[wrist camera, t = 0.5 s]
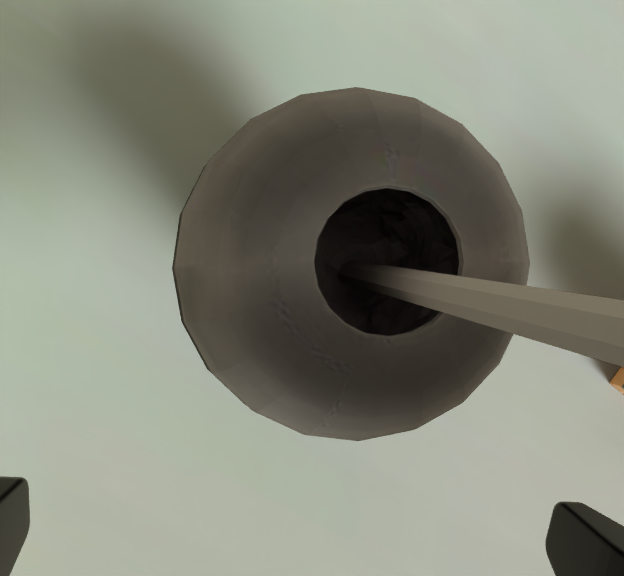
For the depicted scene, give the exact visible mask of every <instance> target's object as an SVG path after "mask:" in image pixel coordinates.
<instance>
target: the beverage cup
mask: <svg viewBox="0 0 624 576" xmlns="http://www.w3.org/2000/svg"><path fill="white" fill-rule="evenodd" d="M529 266H530V261H529V255H528V248H527V241H526V235H525V228H524V221H523V215H522V210H521V208H520V206H519V204H518V202H517V200H516V198H515V196H514V194H513V192H512V189H511V187H510V185H509V183H508V181H507V179H506V177H505V175H504V173H503V171H502V169H501V167H500V165H499V163H498V162H497V161H496V160H495V159H494V158H493V156H492V155H491V154H490V153H489V152H488V151H487V150H486V149H485V148H484V147H483V146H482V145H481V144H480V143H479V142H478V141H477V139H476V138H475V137H474V136H473V135H472V134H471V133H470V132H469V131H468V130H467V129H466V128H465V127H464V126H463V125H462V124H461V123H459V122H457V121H455V120H454V119H452V118H450V117H448V116H446V115H445V114H443V113H441V112H439V111H437V110H436V109H434V108H432V107H430V106H428V105H427V104H425V103H423V102H421V101H419V100H418V99H416V98H412V97H407V96H401V95H396V94H391V93H386V92H380V91H375V90H370V89H365V88H357V87H355V88H347V89H340V90H332V91H325V92H317V93H310V94H302V95H299V96H297V97H295V98H293V99H291V100H289V101H287V102H285V103H283V104H281V105H279V106H277V107H275V108H273V109H271V110H269V111H267V112H265V113H263V114H261V115H259V116H256V117H254V118H252V119H251V120H249V121H248V122H247V123H246V124H245V125H244V126H243V127H242V128H241V129H240V130H239V131H238V132H237V133H236V134H235V135H234V136H233V137H232V138H231V139H230V140H229V141H228V142H227V143H226V144H225V145H224V146H223V147H222V148H221V149H220V150H219V151H218V152H217V153H216V154H215V155H214V156H213V157H212V158H211V159H210V160H209V161H208V163H207V164H206V165H205V166H204V168H203V170H202V172H201V174H200V176H199V178H198V180H197V182H196V184H195V186H194V188H193V190H192V192H191V194H190V196H189V198H188V200H187V202H186V204H185V206H184V208H183V210H182V212H181V214H180V218H179V225H178V232H177V239H176V246H175V253H174V260H173V266H172V270H173V276H174V281H175V287H176V293H177V298H178V304H179V309H180V315H181V321H182V323H183V325H184V327H185V329H186V331H187V332H188V334H189V336H190V338H191V340H192V342H193V344H194V345H195V347H196V349H197V351H198V353H199V355H200V356H201V358H202V360H203V362H204V364H205V366H206V368H207V369H208V370H209V371H210V372H211V373H212V374H213V375H214V376H215V377H216V378H217V379H219V380H220V381H221V382H222V383H223V384H224V385H225V386H226V387H227V388H228V389H229V390H230V391H231V392H232V393H233V394H234V395H236V396H237V397H238V398H239V399H240V400H241V401H242V402H243V403H244V404H245V405H246V406H248V407H249V408H250V409H251V410H253V411H254V412H256V413H258V414H261V415H263V416H265V417H267V418H269V419H271V420H273V421H276V422H278V423H280V424H282V425H284V426H286V427H289V428H291V429H293V430H295V431H297V432H299V433H301V434H304V435H310V436H319V437H328V438H336V439H345V440H353V441H361V440H366V439H371V438H376V437H381V436H386V435H391V434H396V433H401V432H406V431H411V430H414V429H417V428H419V427H420V426H422V425H424V424H426V423H427V422H429V421H431V420H433V419H435V418H436V417H438V416H440V415H442V414H443V413H445V412H447V411H449V410H451V409H452V408H454V407H456V406H458V405H460V404H461V403H463V402H464V401H465V400H466V399H467V398H468V397H469V395H470V394H471V393H472V392H473V391H474V390H475V389H476V388H477V387H478V386H479V385H480V384H481V383H482V382H483V380H484V379H485V378H486V377H487V376H488V375H489V374H490V373H491V372H492V371H493V370H494V369H495V368H496V367H497V366H498V364H499V363H500V361H501V359H502V357H503V355H504V352H505V350H506V348H507V346H508V344H509V342H510V340H511V338H512V336H513V334H516V335H519V336H523V337H526V338H529V339H532V340H536V341H539V342H542V343H546V344H549V345H552V346H555V347H559V348H562V349H565V350H569V351H572V352H575V353H579V354H582V355H585V356H588V357H592V358H595V359H598V360H602V361H605V362H608V363H611V364H615V365H618V366H621V367H624V300H619V299H612V298H605V297H598V296H592V295H585V294H578V293H571V292H564V291H558V290H551V289H544V288H537V287H530V286H527V279H528V273H529Z"/></svg>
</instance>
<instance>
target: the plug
mask: <svg viewBox="0 0 624 576" xmlns="http://www.w3.org/2000/svg"><path fill="white" fill-rule="evenodd" d="M610 384H611V385H612V386H614V387H615V388H616V389H617V390H619V391H620V392H621V393H622V394H624V367H621V368H620V369H619V370H618V372H617V373H616V375H615V376H614V377H613V379H612V380H611V381H610Z"/></svg>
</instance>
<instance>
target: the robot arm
mask: <svg viewBox="0 0 624 576" xmlns="http://www.w3.org/2000/svg"><path fill="white" fill-rule="evenodd" d="M29 525H30V510H29V487H28V483H27V480H26V479H24V478H22V477H0V576H9V575H10V573H11V571H12V569H13V566H14V564H15V562H16V560H17V557H18V555H19V553H20V551H21V548H22V546H23V544H24V542H25V539H26V537H27V534H28V531H29ZM546 552H547V555H548V558H549V561H550V563H551V566H552V568H553V571H554V573H555V575H556V576H624V526H622V525H620V524H618V523H617V522H615V521H613V520H611V519H610V518H608V517H606V516H604V515H603V514H601V513H599V512H597V511H596V510H594V509H592V508H590V507H588V506H587V505H585V504H583V503H580V502H559V503H557V504H556V505H555V506H554V509H553V513H552V517H551V521H550V525H549V529H548V533H547V537H546Z"/></svg>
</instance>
